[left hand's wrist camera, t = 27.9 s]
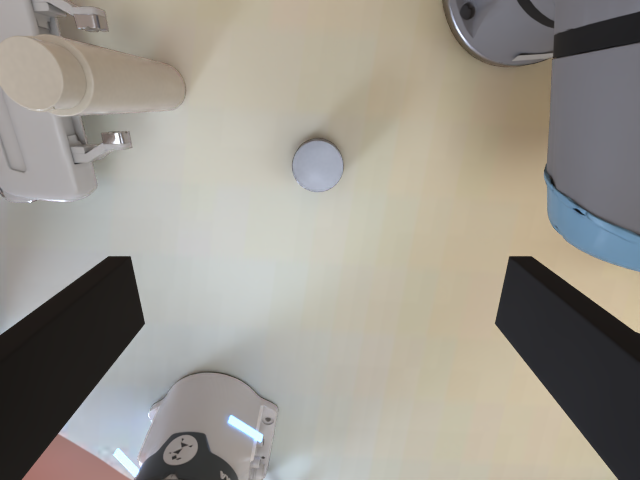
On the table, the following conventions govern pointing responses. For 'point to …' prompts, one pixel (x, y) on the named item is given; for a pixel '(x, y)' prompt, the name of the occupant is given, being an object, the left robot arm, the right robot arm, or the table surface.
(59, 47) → the white cylinder
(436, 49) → the table surface
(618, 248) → the left robot arm
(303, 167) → the lid
